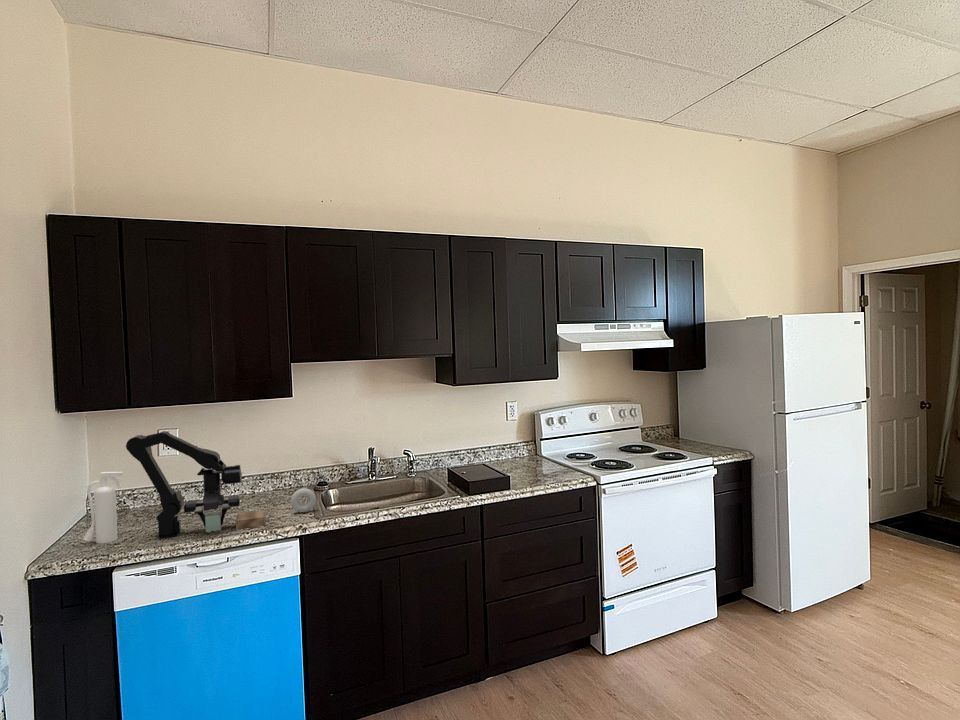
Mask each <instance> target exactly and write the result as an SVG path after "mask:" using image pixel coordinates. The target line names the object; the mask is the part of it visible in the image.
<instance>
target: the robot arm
mask: <svg viewBox="0 0 960 720" xmlns="http://www.w3.org/2000/svg"><path fill="white" fill-rule="evenodd" d="M160 444H163V445H165V446H167V447H169V448H171V449H173V450H175V451H177V452H180V453H181V454H183V455H186V456H188V457H189V458H192V459H193V460H194V461H195V462H196V463H197V464H199V465H200V466H202V468H201V469H200V470H199V471H198V473H196V475H197V476H202V477H203V479H202V481H203V498H202V502H198V500H191V501H186V503H185V499H186V497H185V496H183V495H182V492H181V490H180V489H178V490H174V488H172V486H171V485H170V483H169V481H168V480H167V478H166V476H165V474H164V473H163V472H162V469H161V467H160V465H158V462H157V461H156V459H155V457H154V456H153V450H152V447H153V446H156V445H160ZM125 448H126V450H127V451H128V452H129V454H130V455H131V456H132V458H134V459H136V460H137V461H138V462H139V463H140V464H141V466H142V468H143V470H144V471H145V473H146V475H147V477H148V478H149V480H150V481H151V484H152V485H153V486H154V488H155V489H156V492H157V493H158V495H159V498H160V504H161V508H162V510H161V512H160V513H159V514H158V515H157V516H156V520H157V529H158V536H157V539H165V538H171V537H177V536H178V537H179V535H180V533H181V531H182V529H181V528H182V525H181V519H179V518H180V517H179V515H178V514H179V513H180V512H181V510H183V512H184V513H194V514H197V515H198V516H199V517H200V519H201V521H202V524H203V525H204V526H203V527H204V528H205V529H206V524H205V516H206V512H205V511H207V512H208V511H209V510H218V509H219V507H220V506H222V507H221V526H223V523H224V520H225V516H226V514H227V512H228V510H231V508H235V507H240V506H241V505H240V504H241V497H240V496H239V495H232V496H228V498H227V499H225V495H224V493H223V494H222V493H221V491H222V490H221V487H222V486H221V482H222V483H223V484H225V485H232V484H241V483H242V481H243V477H242V476H243V472H242V469H241V465H240V464H235V465H228V466H227V464H225V462H224V461H223V460H222V459H221V456H220V454H219V453H218V452H217V451H214V450H211V449H207V448H202V447H198V446H196V445H194V444H192V443H190V442H188V441H186V440H184V439H182V438H180V437H178V436H176V435H174V434H172V433H170V432H169V431H167V430H162V431H161V432H157V433H153V434H149V435H142V434H139V435H135V436H133V437H131V438H129V439H128V441H127V442H126V444H125Z"/></svg>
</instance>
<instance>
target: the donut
mask: <svg viewBox="0 0 960 720" xmlns="http://www.w3.org/2000/svg"><path fill="white" fill-rule="evenodd" d="M303 497H304V498H306V499H307V501H306V502H305V503H304V504H303V503H301V502H300V500H301V498H303ZM316 501H317V497H316V494H315V492H314V491H313V490H311V489H309V488H306V487H304V488H303V487H302V488H299V489H297V490H296V491H294V493H293V494H292V495H291V498H290V505H291V507H292V509H293V510H294V511H296V512H298V513H302V512H304V513H308V512H309V511H311V510H312V509H313V508H314V507H315V504H316V503H317V502H316Z"/></svg>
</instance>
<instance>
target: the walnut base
mask: <svg viewBox="0 0 960 720" xmlns="http://www.w3.org/2000/svg"><path fill="white" fill-rule="evenodd" d="M265 525H266V509H260V510H255V511H248V512H238V513H237V514H236V518H235V531H238V530H237V529H243V530H246V529H245V528H251V529H254V528H253V527H258V528H260V527H259V526H265ZM265 527H266V526H265Z"/></svg>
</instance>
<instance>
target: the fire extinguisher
mask: <svg viewBox="0 0 960 720" xmlns="http://www.w3.org/2000/svg"><path fill="white" fill-rule="evenodd" d="M121 476H124V471H101V472H100V473H99V477H98V480H94V481H92V482H90V483H88V485H87V490H86V495H87V497H88V501H89V507H90V508H89V509H90V516H91V525H90V527H89V528H88V529H87V530H86V533H85V535H84V536H83V538H82V541H86V542H93V541H94V538H95V543H96V544H108V543H111V542H115V541H116V540H118V538H119V537H118V519H117V517H118V515H117V497H116V496H117V493H116V489H115V487H114V486H113V485H109V481H108V480H110V481H112V482H113V484H115V485H116V487H117V489H118V490H119V489H120V488H122V486H123V485H122V483H121V481H120V480H119V479H118V478H116V477H121ZM99 479H100V480H99ZM96 484H100V486H99V487H97V488H96V489H95V490H94V492H93V496H92V494H91V490H92V486H93V485H96Z"/></svg>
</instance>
